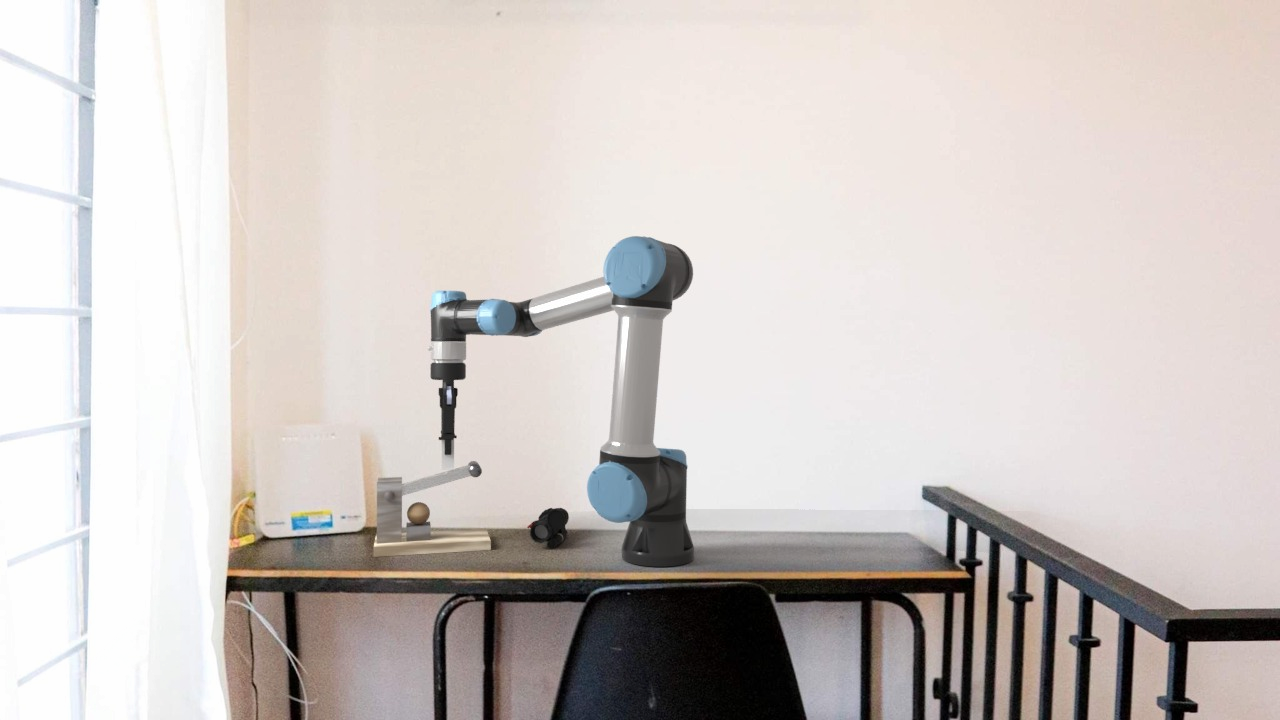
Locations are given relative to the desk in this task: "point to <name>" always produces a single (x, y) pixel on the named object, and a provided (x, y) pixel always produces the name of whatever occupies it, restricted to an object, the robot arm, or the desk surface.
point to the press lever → (442, 478)
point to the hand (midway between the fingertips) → (447, 468)
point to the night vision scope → (550, 527)
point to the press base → (437, 543)
